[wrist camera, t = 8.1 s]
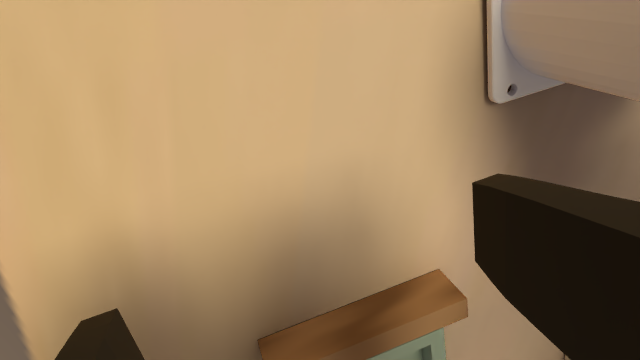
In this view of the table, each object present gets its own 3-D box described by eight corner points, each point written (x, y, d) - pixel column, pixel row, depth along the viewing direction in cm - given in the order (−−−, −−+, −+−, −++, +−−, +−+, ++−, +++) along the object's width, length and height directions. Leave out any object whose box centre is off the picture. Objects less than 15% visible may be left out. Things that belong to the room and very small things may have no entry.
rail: (438, 269, 24) (467, 298, 22) (440, 286, 24) (468, 316, 22) (257, 340, 22) (268, 380, 20) (263, 357, 22) (275, 397, 20)
